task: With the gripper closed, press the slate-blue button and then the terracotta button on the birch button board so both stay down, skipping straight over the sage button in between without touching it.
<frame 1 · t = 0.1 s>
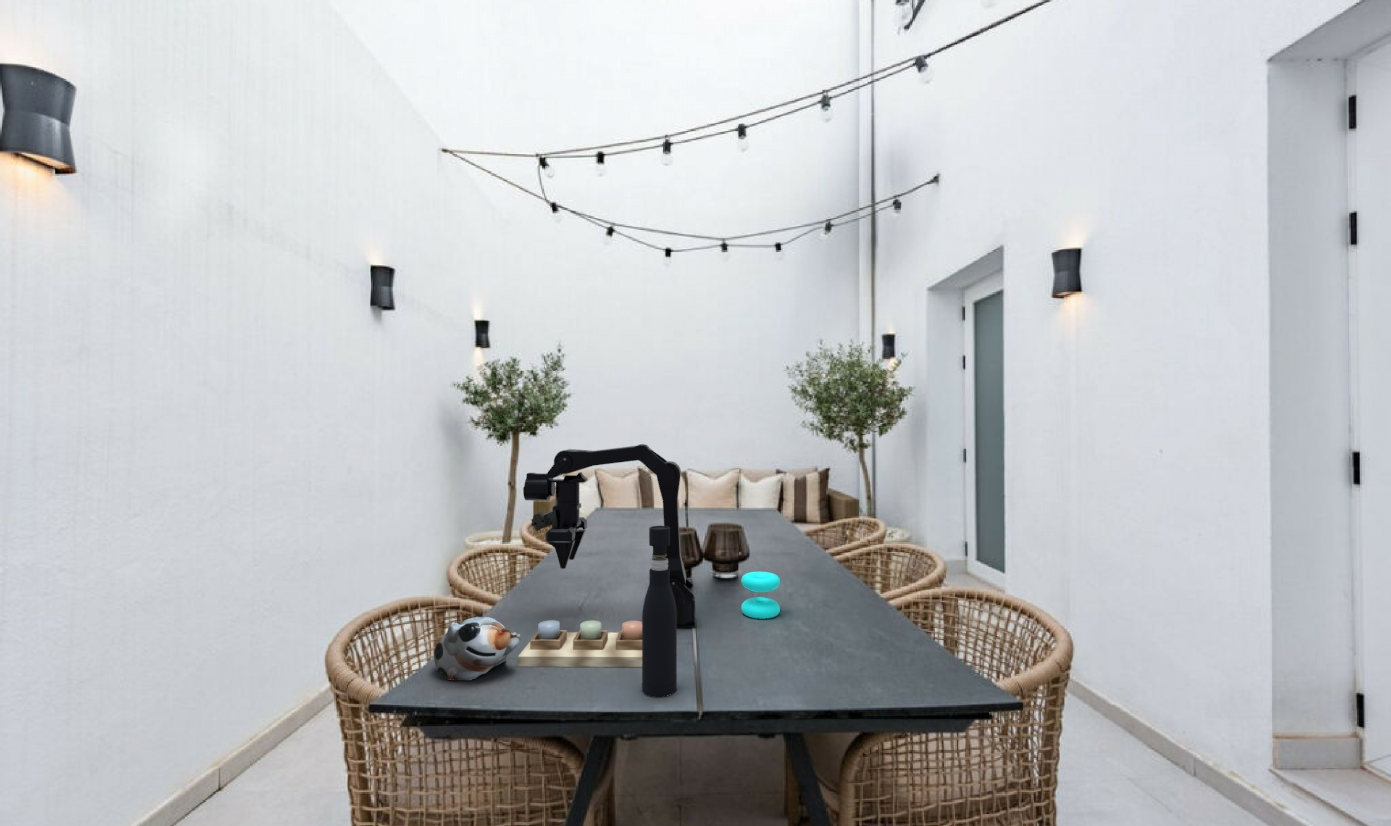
hand: (567, 563, 147), 15 cm above the table, tool pointing down, fingers open, 9 cm apart
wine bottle: (659, 690, 111), on the table
button slate: (549, 629, 128), point 5 cm above the table, slide at 0.0 cm
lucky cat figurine: (477, 671, 120), on the table
donuts: (760, 614, 155), on the table
button terracotta: (632, 629, 128), point 5 cm above the table, slide at 0.0 cm
button board: (590, 653, 128), on the table
button sage: (590, 629, 128), point 5 cm above the table, slide at 0.0 cm
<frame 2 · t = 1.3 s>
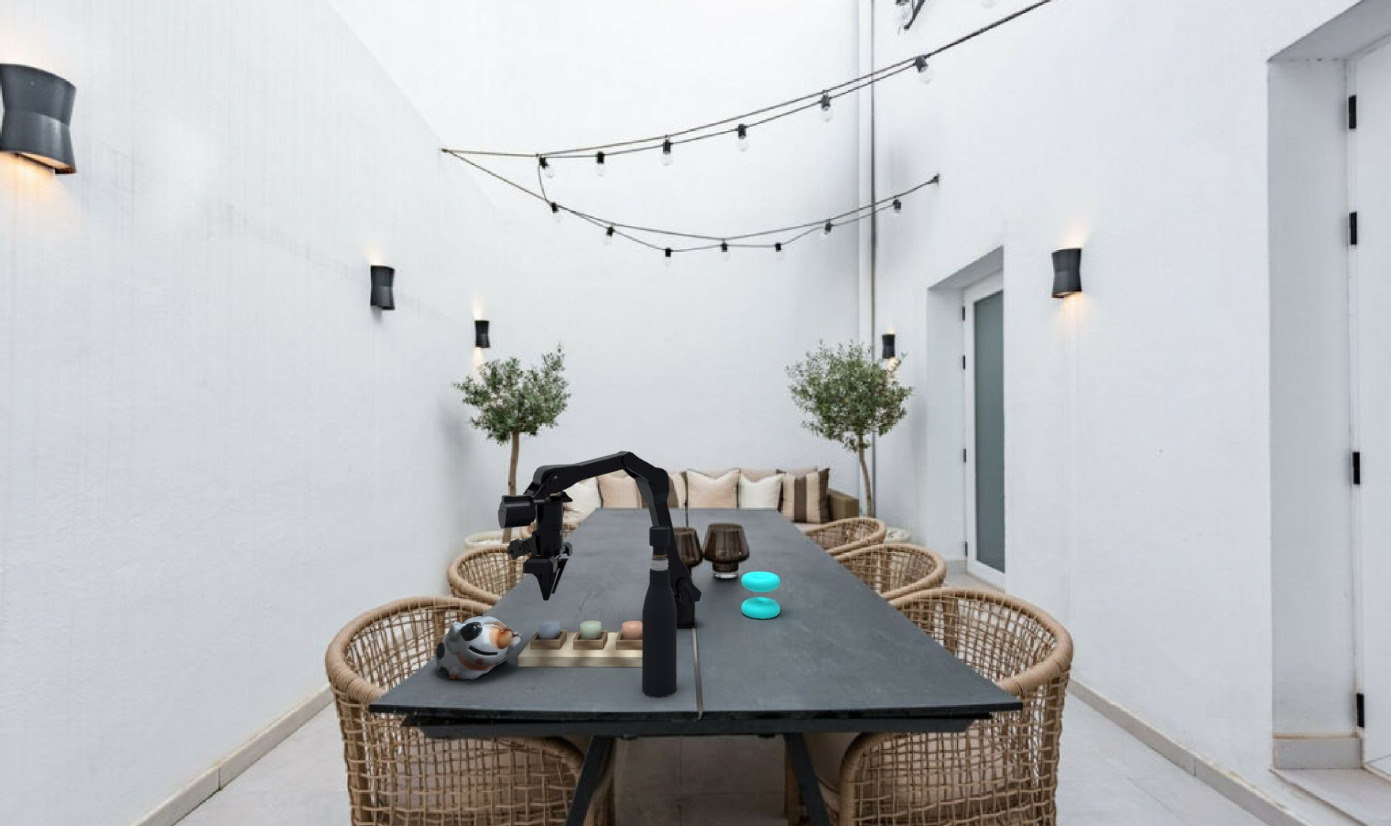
hand: (549, 596, 129), 12 cm above the table, tool pointing down, fingers open, 5 cm apart
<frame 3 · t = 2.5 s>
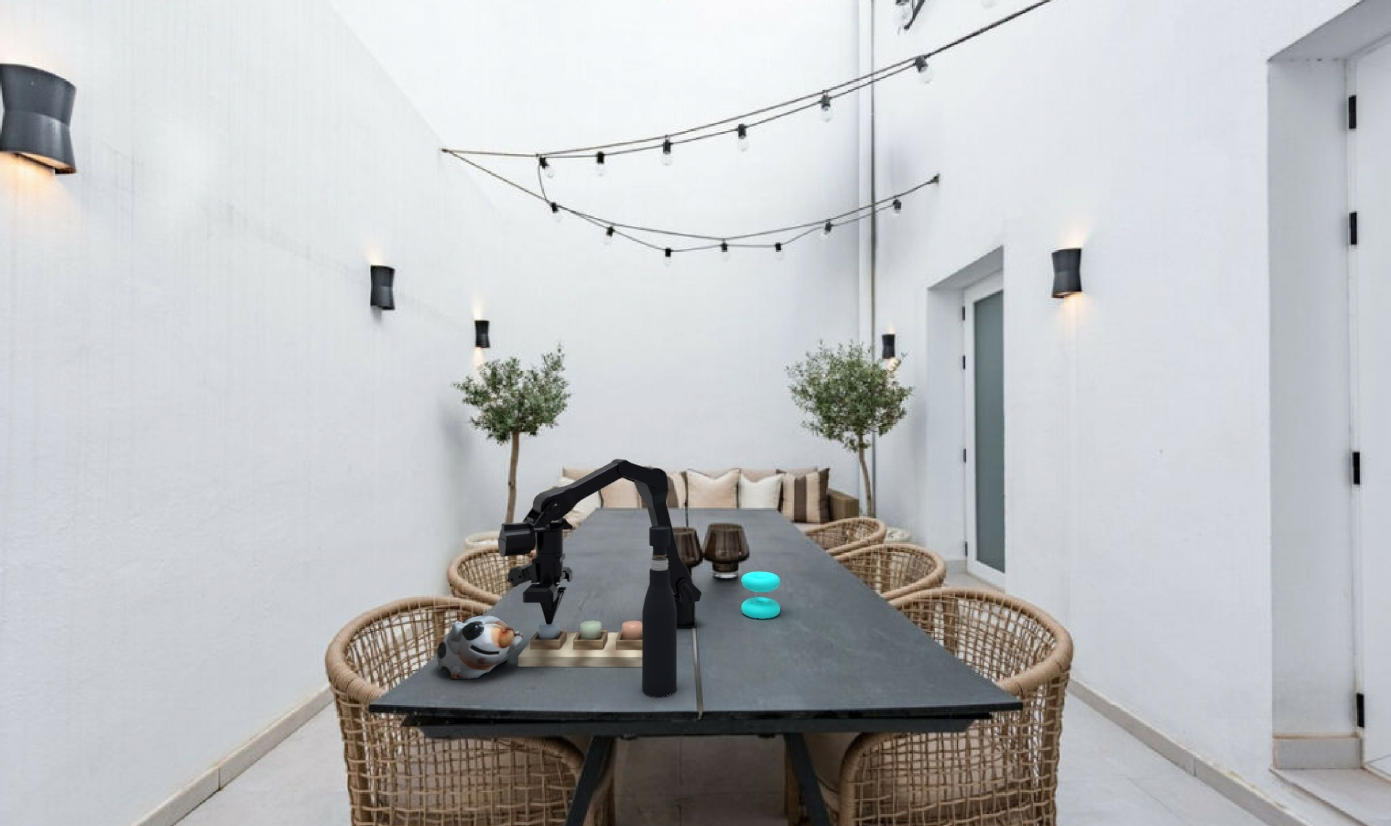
hand: (549, 624, 128), 6 cm above the table, tool pointing down, fingers closed, pressing on button slate
button slate: (549, 629, 128), point 5 cm above the table, slide at 0.1 cm, touching gripper
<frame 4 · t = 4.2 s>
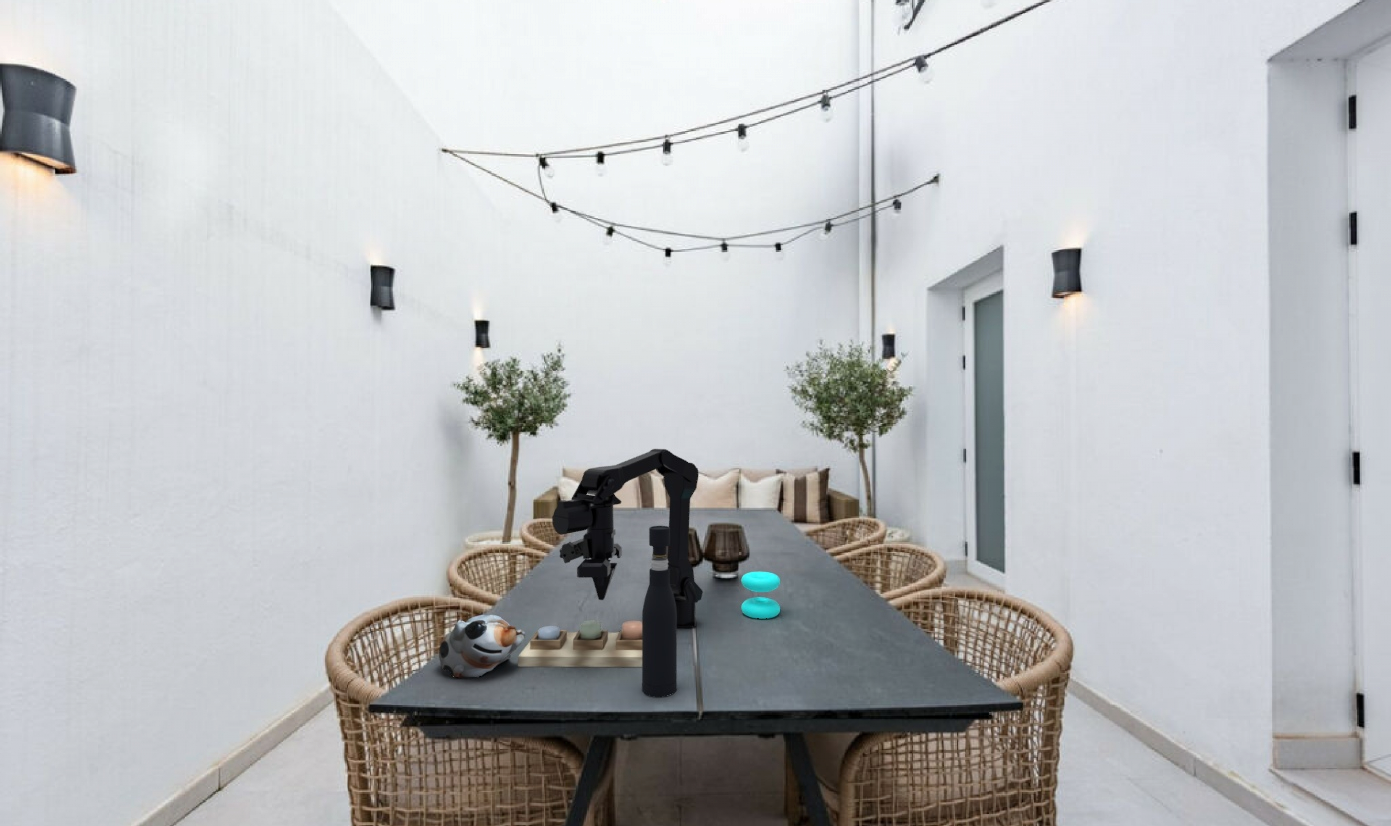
hand: (601, 599, 129), 11 cm above the table, tool pointing down, fingers closed
button slate: (549, 635, 128), point 4 cm above the table, slide at 1.2 cm
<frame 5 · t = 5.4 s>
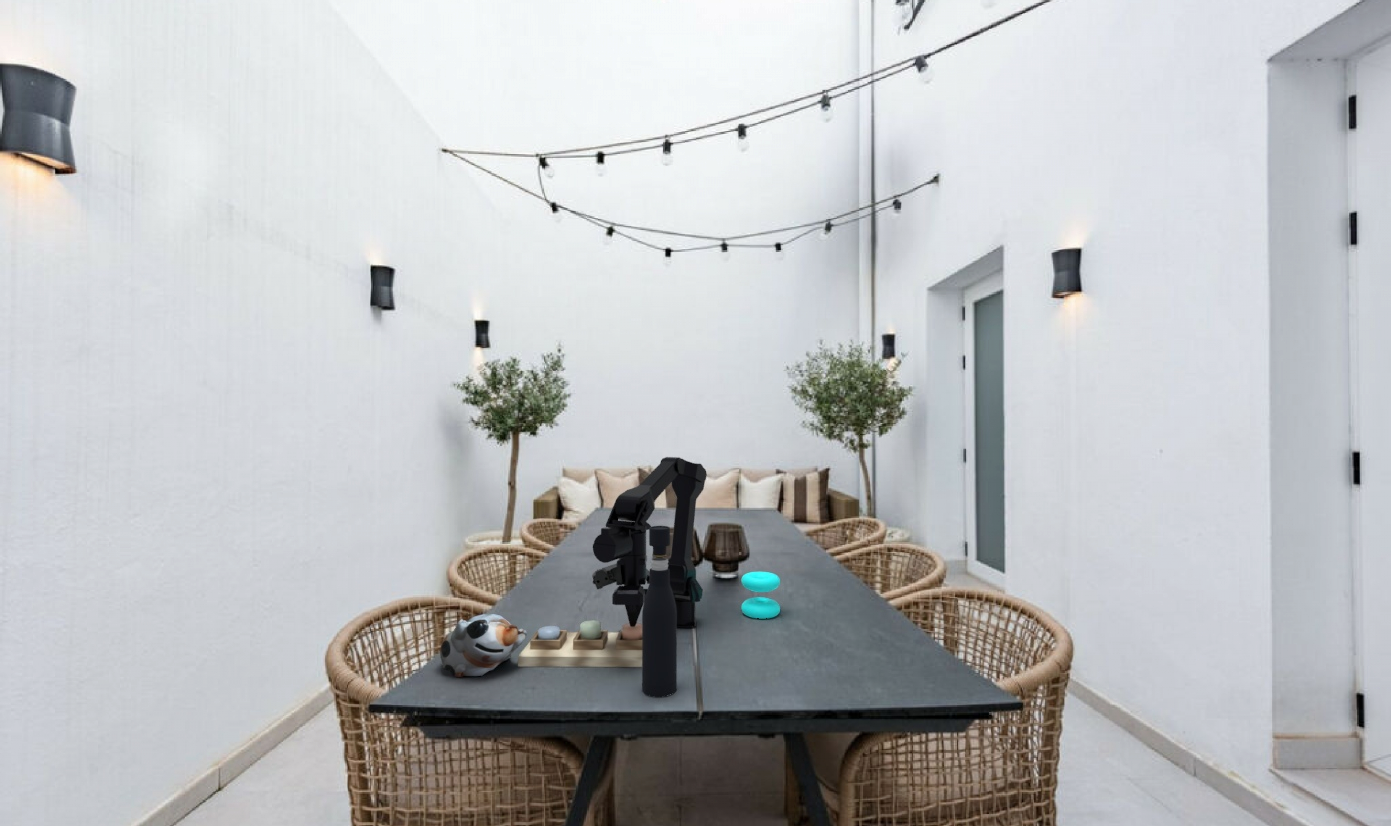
hand: (632, 625, 128), 6 cm above the table, tool pointing down, fingers closed, pressing on button terracotta
button terracotta: (632, 631, 128), point 5 cm above the table, slide at 0.4 cm, touching gripper
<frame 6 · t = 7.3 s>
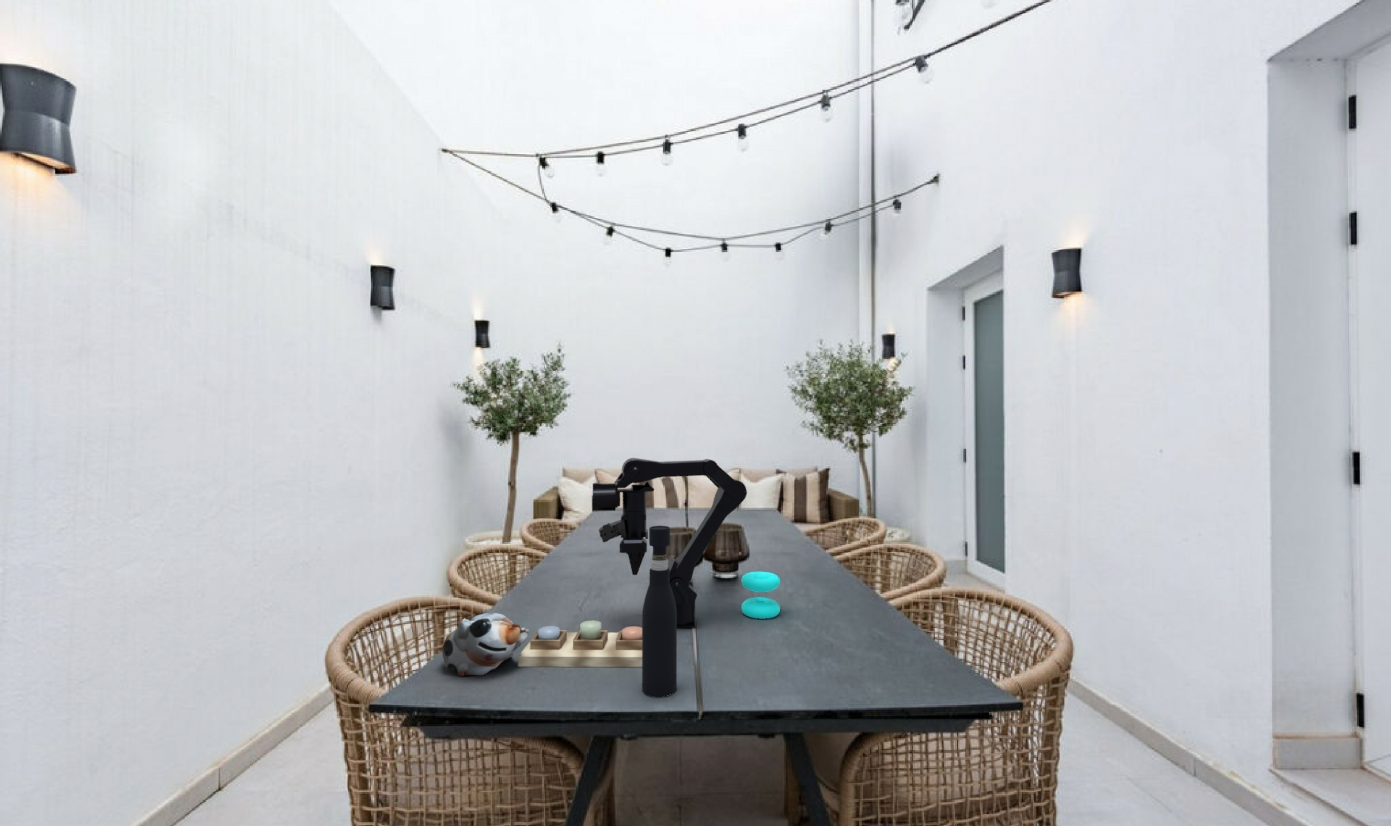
hand: (634, 574, 145), 13 cm above the table, tool pointing down, fingers closed
button terracotta: (632, 635, 128), point 4 cm above the table, slide at 1.2 cm
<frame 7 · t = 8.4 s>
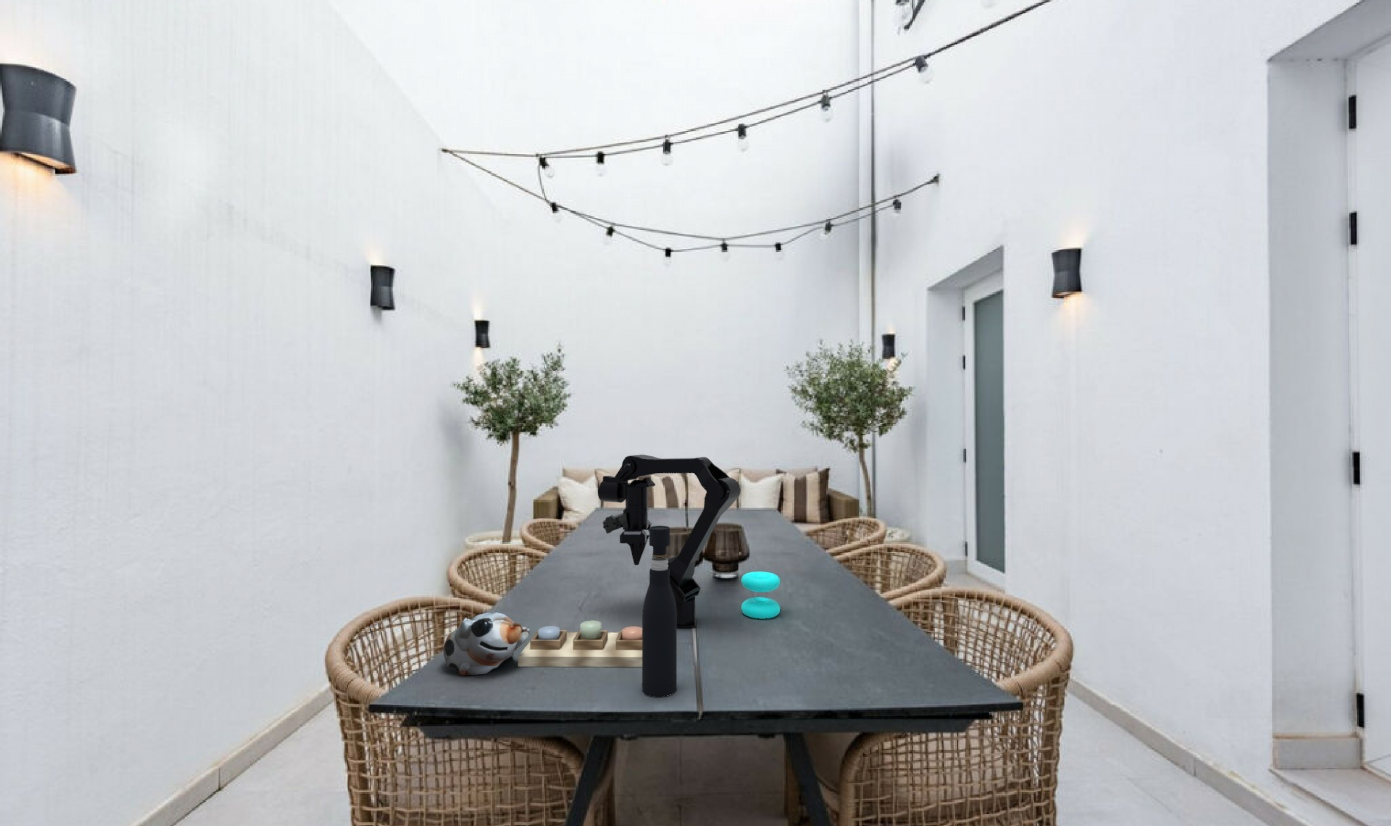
hand: (636, 564, 153), 13 cm above the table, tool pointing down, fingers closed
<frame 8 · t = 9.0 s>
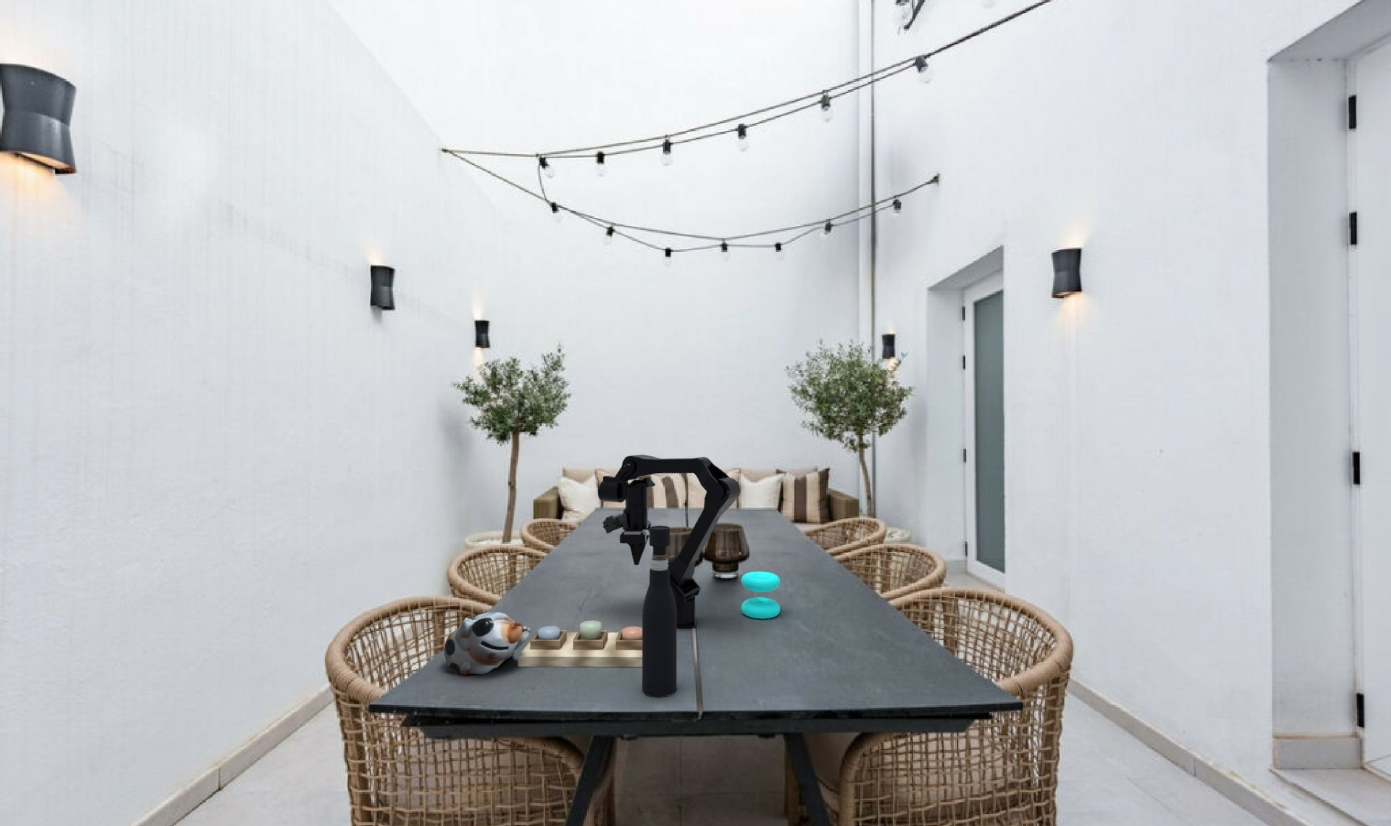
hand: (636, 564, 153), 13 cm above the table, tool pointing down, fingers closed
at the end: button slate slide at 1.2 cm; button terracotta slide at 1.2 cm; button sage slide at 0.0 cm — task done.
